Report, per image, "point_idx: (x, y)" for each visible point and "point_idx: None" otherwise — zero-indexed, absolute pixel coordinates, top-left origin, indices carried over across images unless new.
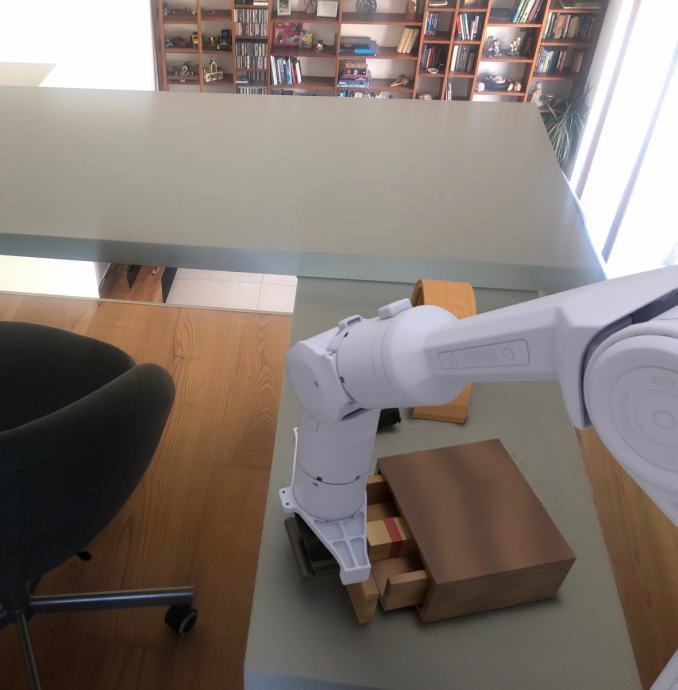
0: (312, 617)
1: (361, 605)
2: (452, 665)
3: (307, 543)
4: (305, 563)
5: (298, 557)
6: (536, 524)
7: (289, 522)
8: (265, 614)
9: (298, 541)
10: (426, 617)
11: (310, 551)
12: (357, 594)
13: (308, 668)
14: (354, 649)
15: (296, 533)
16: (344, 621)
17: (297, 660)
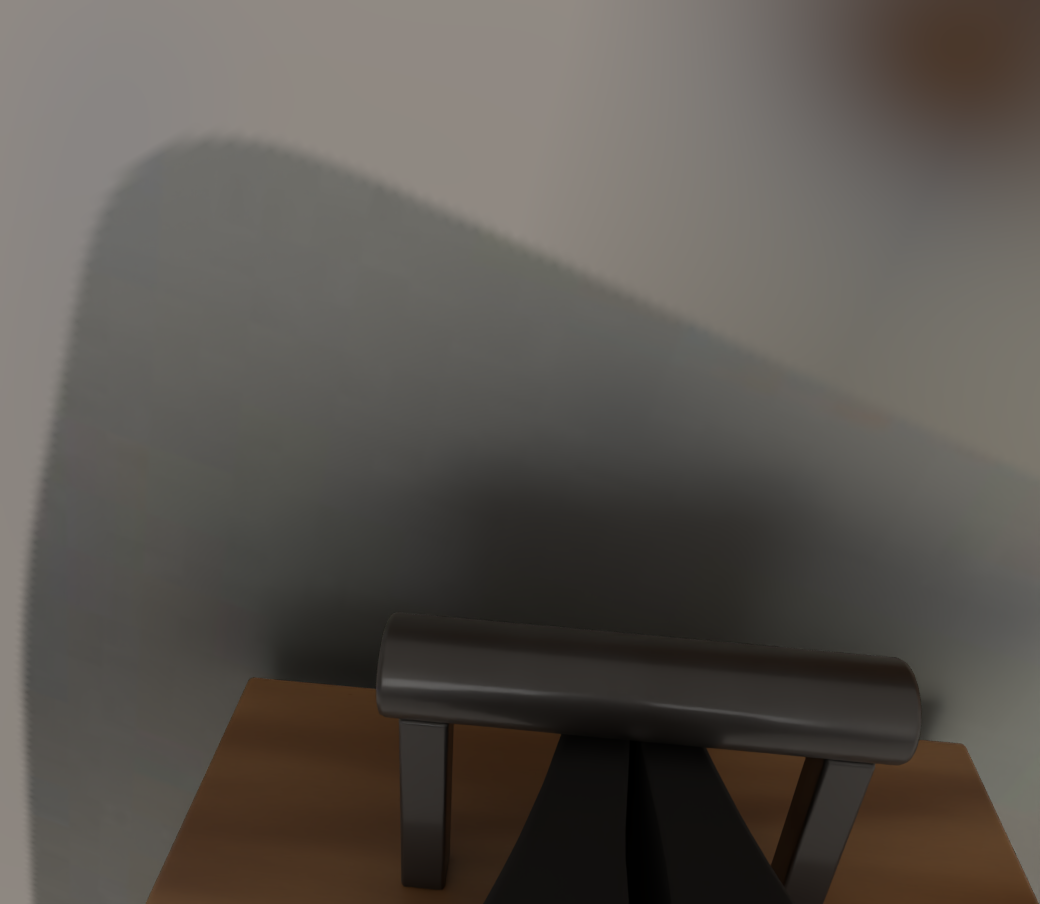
0: (358, 482)
1: (212, 802)
2: (91, 847)
3: (555, 857)
4: (477, 710)
5: (548, 682)
6: None
7: (872, 728)
8: (425, 244)
9: (674, 731)
10: None
11: (542, 787)
12: (277, 811)
13: (81, 370)
14: (171, 592)
15: (751, 738)
16: (312, 604)
17: (126, 331)
